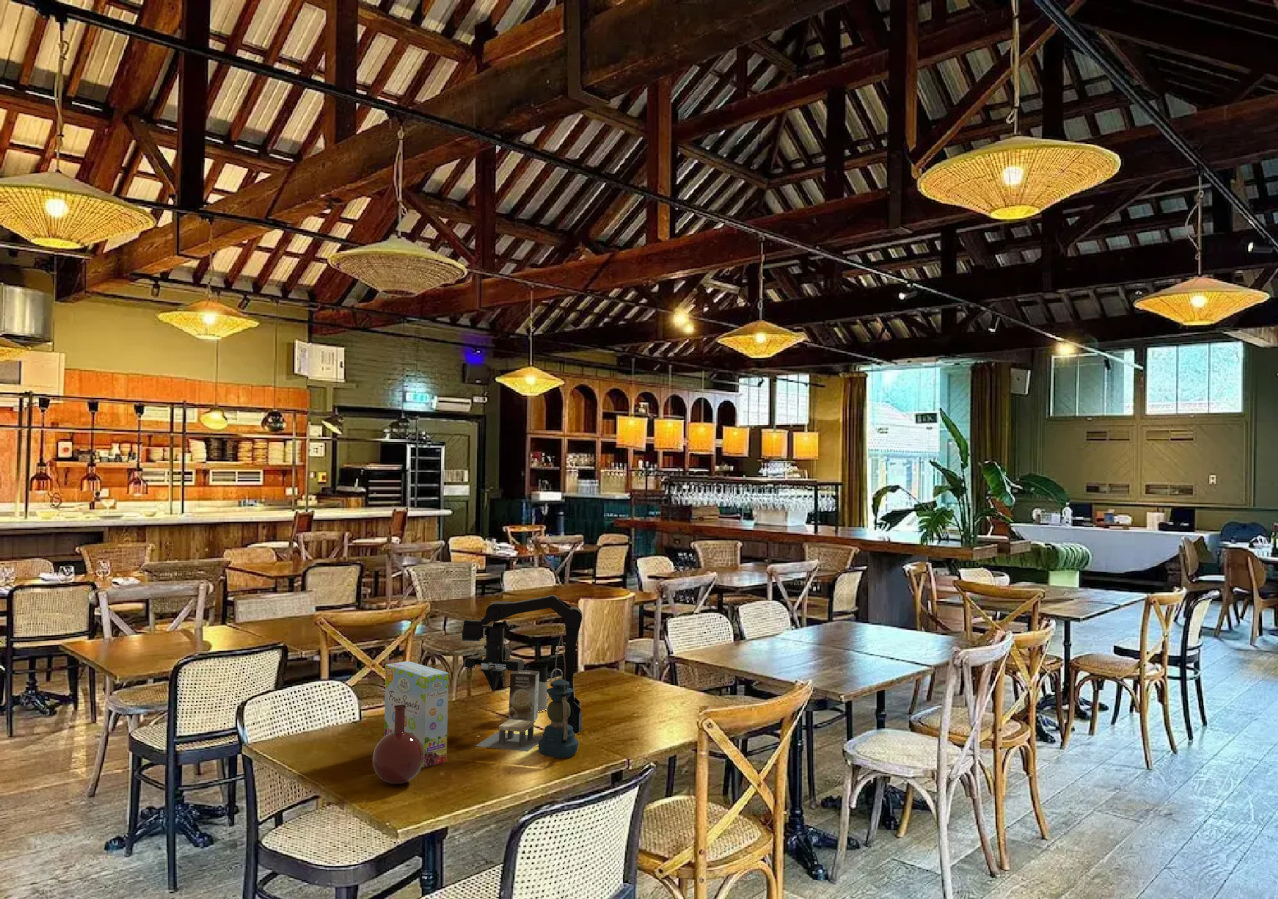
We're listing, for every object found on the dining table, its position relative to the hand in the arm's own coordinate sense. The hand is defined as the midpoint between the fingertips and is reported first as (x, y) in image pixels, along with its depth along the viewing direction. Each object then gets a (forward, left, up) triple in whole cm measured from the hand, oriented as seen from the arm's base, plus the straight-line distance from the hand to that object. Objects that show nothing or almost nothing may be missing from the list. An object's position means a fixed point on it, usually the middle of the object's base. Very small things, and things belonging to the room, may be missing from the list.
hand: (493, 690), depth 282 cm
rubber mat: (-11, +10, -13) cm, 20 cm away
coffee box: (-4, -16, -13) cm, 21 cm away
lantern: (-28, +15, -13) cm, 34 cm away
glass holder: (-5, -32, -13) cm, 35 cm away
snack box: (+10, +32, -13) cm, 36 cm away
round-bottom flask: (+3, +53, -13) cm, 55 cm away
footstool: (-9, +10, -10) cm, 16 cm away
